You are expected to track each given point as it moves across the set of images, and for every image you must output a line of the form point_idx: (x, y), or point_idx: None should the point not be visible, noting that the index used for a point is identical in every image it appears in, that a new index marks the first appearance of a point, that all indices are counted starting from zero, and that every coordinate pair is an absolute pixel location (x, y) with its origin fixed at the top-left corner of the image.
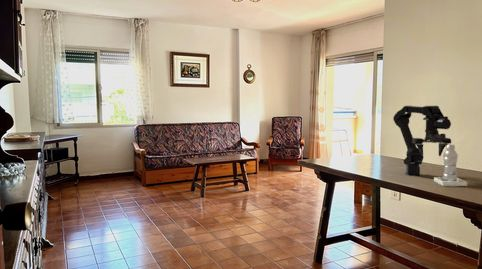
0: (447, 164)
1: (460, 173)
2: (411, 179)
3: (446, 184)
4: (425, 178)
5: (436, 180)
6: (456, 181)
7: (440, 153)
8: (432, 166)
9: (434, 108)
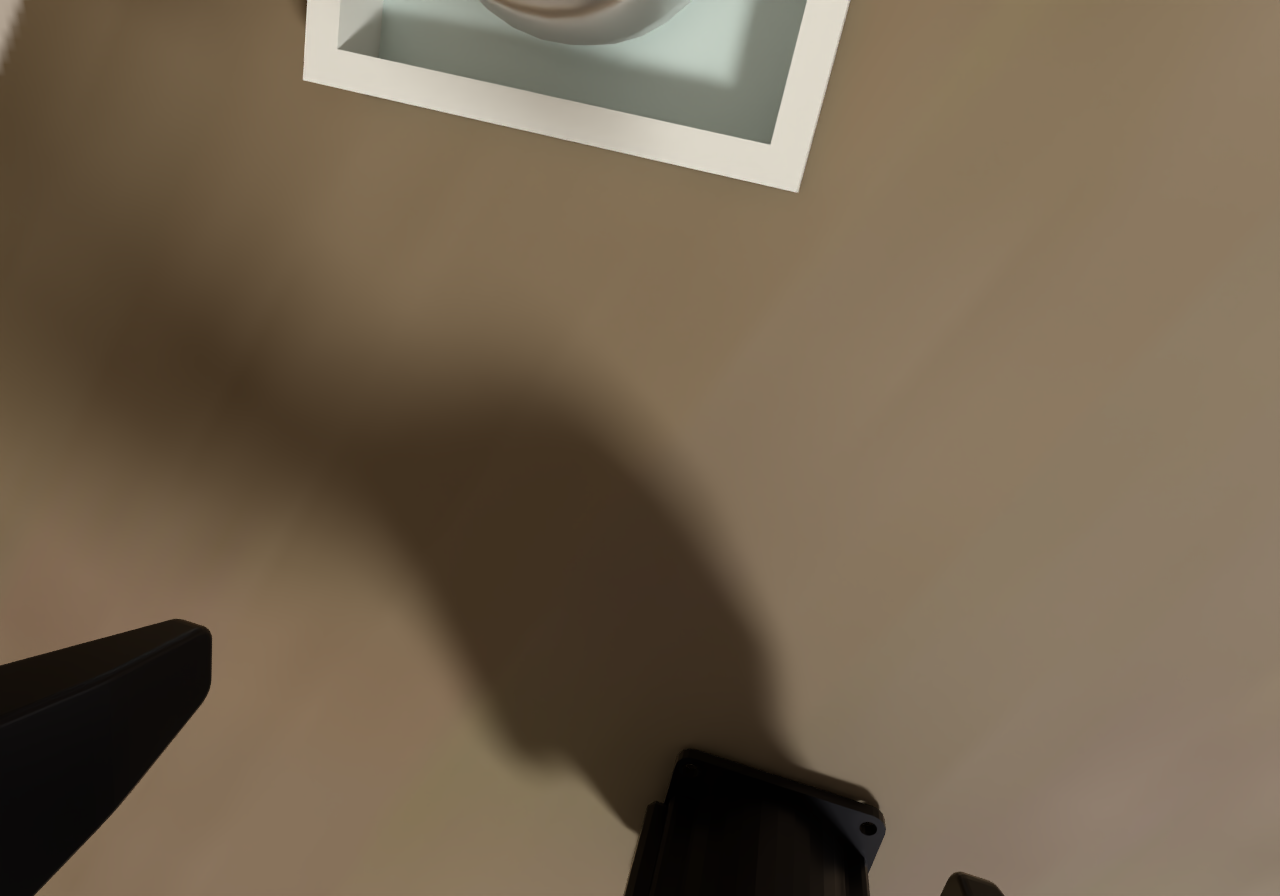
0: None
1: None
2: (1107, 512)
3: None
4: (750, 517)
5: (838, 40)
6: (385, 24)
7: (80, 676)
8: None
9: None
